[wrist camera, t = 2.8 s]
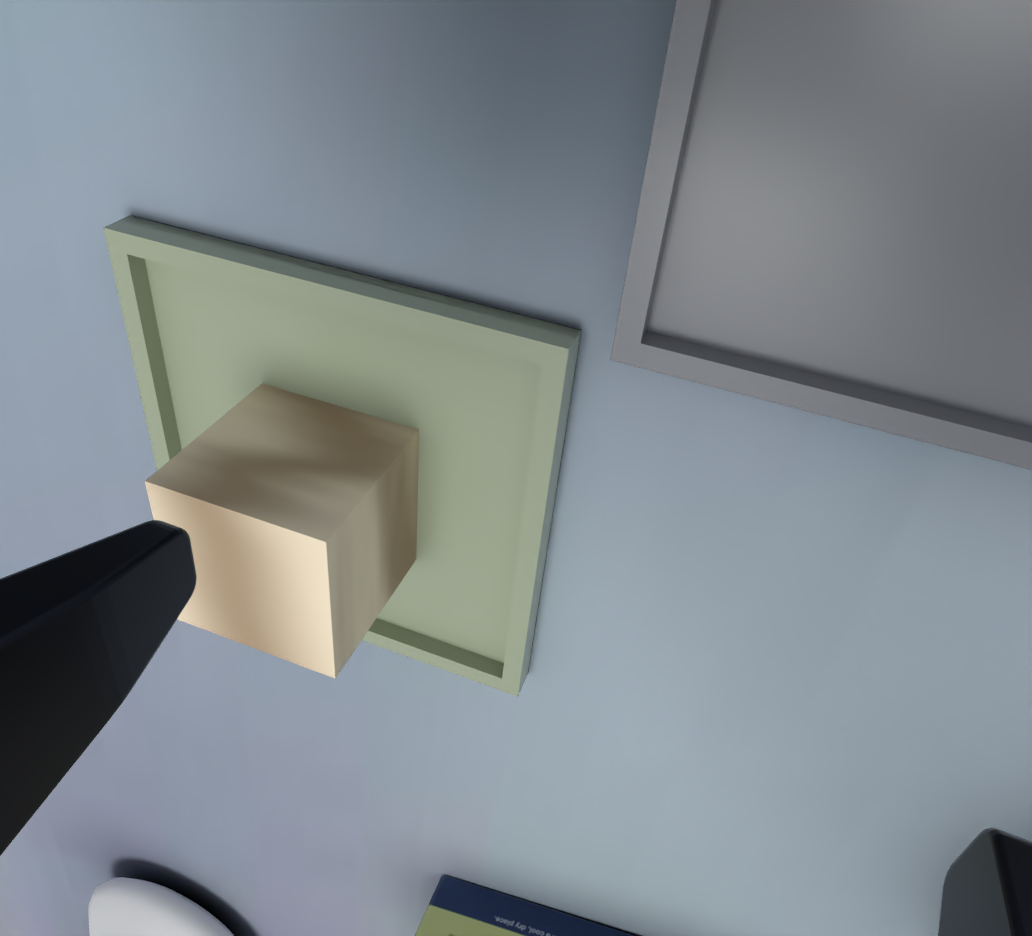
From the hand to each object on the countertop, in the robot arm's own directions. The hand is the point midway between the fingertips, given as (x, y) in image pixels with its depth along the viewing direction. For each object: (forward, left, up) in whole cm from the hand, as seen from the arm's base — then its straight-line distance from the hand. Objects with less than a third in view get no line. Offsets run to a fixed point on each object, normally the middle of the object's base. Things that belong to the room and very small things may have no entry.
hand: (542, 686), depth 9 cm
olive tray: (+9, +9, -12) cm, 18 cm away
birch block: (+9, +9, -12) cm, 17 cm away
